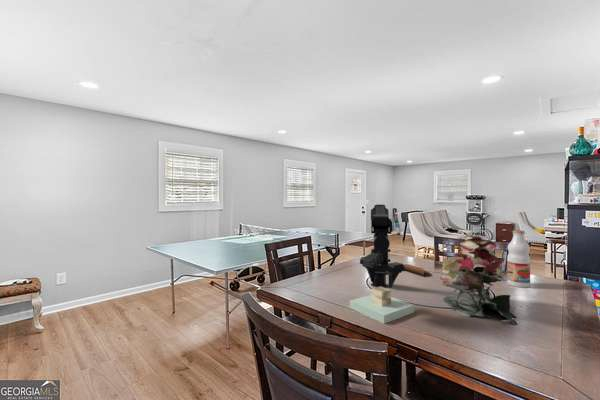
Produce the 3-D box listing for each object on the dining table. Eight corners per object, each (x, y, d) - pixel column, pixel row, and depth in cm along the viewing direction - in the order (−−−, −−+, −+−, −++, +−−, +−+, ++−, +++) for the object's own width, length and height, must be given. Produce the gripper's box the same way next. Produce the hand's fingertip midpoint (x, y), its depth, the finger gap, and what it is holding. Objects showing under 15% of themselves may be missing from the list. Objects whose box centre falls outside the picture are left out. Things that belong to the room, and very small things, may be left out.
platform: (379, 298, 129) (379, 292, 129) (414, 312, 114) (414, 304, 114) (349, 307, 119) (349, 300, 119) (383, 323, 104) (383, 315, 104)
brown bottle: (434, 274, 167) (430, 265, 165) (427, 282, 164) (422, 273, 162) (410, 268, 183) (406, 259, 181) (403, 274, 180) (399, 266, 179)
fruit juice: (514, 281, 153) (514, 229, 153) (534, 286, 145) (534, 231, 144) (503, 283, 150) (503, 230, 149) (522, 289, 141) (523, 232, 140)
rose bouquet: (499, 298, 128) (499, 232, 128) (526, 327, 101) (527, 242, 100) (436, 293, 137) (436, 230, 136) (446, 317, 109) (445, 239, 109)
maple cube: (380, 299, 121) (380, 286, 120) (391, 303, 116) (390, 289, 116) (371, 302, 118) (371, 288, 117) (381, 306, 113) (381, 292, 113)
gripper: (350, 245, 120) (350, 282, 120) (386, 252, 104) (386, 295, 104) (369, 242, 126) (369, 278, 126) (405, 249, 110) (405, 289, 110)
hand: (381, 284), depth 116 cm, fingers open, 9 cm apart
